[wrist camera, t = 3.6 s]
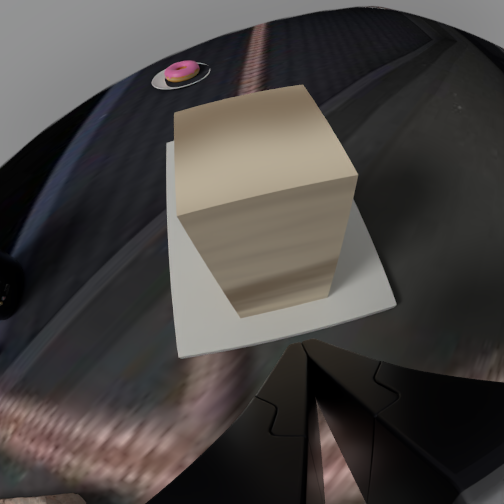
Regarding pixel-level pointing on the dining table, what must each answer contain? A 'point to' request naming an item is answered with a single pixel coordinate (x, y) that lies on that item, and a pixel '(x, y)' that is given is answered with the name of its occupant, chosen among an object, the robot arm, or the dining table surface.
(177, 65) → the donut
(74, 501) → the brick
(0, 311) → the supplement bottle
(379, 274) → the mat
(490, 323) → the dining table surface
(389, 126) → the dining table surface
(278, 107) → the block
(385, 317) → the dining table surface
